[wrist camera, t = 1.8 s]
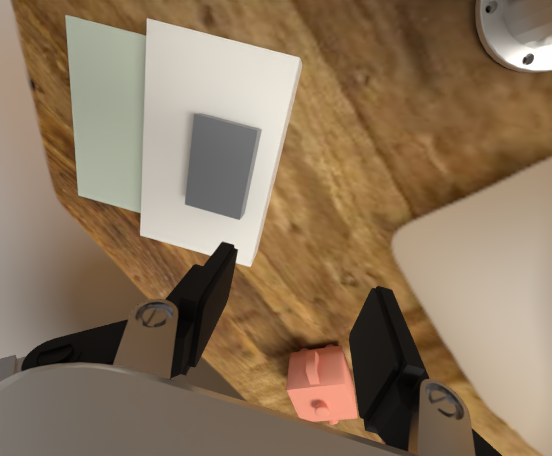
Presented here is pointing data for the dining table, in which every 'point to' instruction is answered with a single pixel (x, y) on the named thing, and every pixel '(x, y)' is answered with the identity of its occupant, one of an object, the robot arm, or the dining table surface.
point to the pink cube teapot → (321, 385)
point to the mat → (107, 110)
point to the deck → (219, 103)
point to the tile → (221, 165)
